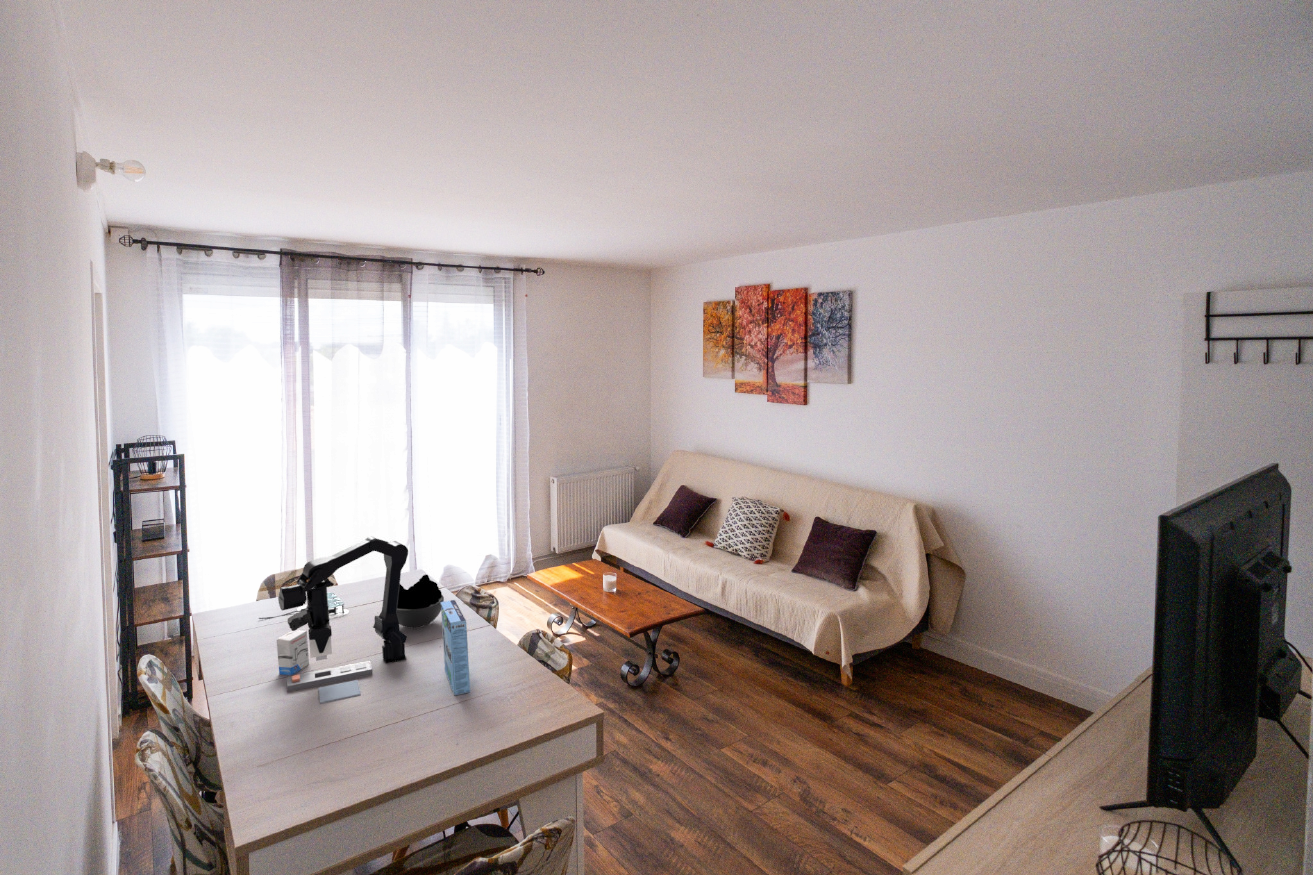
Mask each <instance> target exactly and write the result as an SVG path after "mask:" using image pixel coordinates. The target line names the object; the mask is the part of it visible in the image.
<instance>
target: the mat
mask: <svg viewBox="0 0 1313 875" xmlns="http://www.w3.org/2000/svg"><path fill="white" fill-rule="evenodd" d="M318 695H319V696H318V697H319V704H320V705H321V704H325V703H329V702H335V701H339V700H345V699H348V698H349V699H350V698H353V697H357V696H361V689H360V685H359V680H358V679H355V680H351V681H349V680H348V681H344V682H341V683H335V684H329V685H326V686H325V685H324V686H320V687H318Z"/></svg>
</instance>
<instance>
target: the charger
mask: <svg viewBox="0 0 1313 875" xmlns="http://www.w3.org/2000/svg"><path fill="white" fill-rule="evenodd" d="M308 641H309V654H310V658H311V659H312V658H313V659H314V658H315V660H316V662H317V661H323V660H327V659H328V655H333V650H332V636H330V637H329V639H328V642H327V644H326V647H325V649H324V652H323V653H319V651H318V648H317V645H316V642H315V640H308Z"/></svg>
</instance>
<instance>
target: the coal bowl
mask: <svg viewBox="0 0 1313 875" xmlns="http://www.w3.org/2000/svg"><path fill="white" fill-rule="evenodd" d="M441 602H445V598H444V595H443V594H442V591H441V589H440V588H439V586H438V583H437V582H435V581H433V580H431V579H430V576H429V575H428V574H423V575H422V576H421V577H420V578H419V579H418V581H417V582H416V583H414V584H413V585H411V586H410V587H408V589H406V588H404V586H403V585H402V584H401V583H400V585H399V595H398V604H397V616H398V620H399V626H402V627H405V628H408V629H420V628H424V627H426V626H427V625H429V624H431V623H432V622H434V621H435V619H437V617H438V616H439V614H440V613H441Z"/></svg>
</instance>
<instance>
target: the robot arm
mask: <svg viewBox="0 0 1313 875" xmlns="http://www.w3.org/2000/svg"><path fill="white" fill-rule="evenodd" d="M373 552H377V553H380V554H382V555H383V561H384V564H385V568H386V569H385V570H386V572H385V578H384V579H385V580H384V590H383V599H382V607H381V612H380V614H379V615H374V623H373V626H372V628H374V632H375V633H376V634H377V635H378V636H379V637H380V638H381V639H382V640H383V645H382V646H381V651H382V652H381V653H382V656H381V657H382V659H383V661H384V662H385V664H390V663H396V662H401V661H406V660H407V656H406V646H405V643H406V641H407V639H408V636H407V635H406V634H405V633H404V632H402V631H400V630H401V629H400V624H399V620H398V616H397V604H398V595H399V585H400V584H401V574H402V569H403V568H404V566H405V565H406V563H407V559H408V555H409V549H408V547H407V546H406V545H404V544H403V543H400V542H398V541H396V540H390V541H387V540H383V539H379V538H377V537H374V536H367V537H366V538H365V539H364V540H363V539H362V540H361V541H359V542H356V543H355V544H353V545H350V546H349V547H346V548H345V549H343V550H341V551H340V550H339V552H337V553H334V554H332V555H330V556H329V555H328V556H325V557H319V558H316V559H313V560H310V561H308V562H306V563H305V565H304V566H303V569H302V573H301V574H300V576H299V577H298V579H297V581H296V582H295V583H296V584H293V585H290V586H282V587H280V588H279V592H278V598H277V599H278V606H279V608H280V610H281V611H287V610H291V609H295V608H299V607H301V606H304V605H305V604H306V602H307V604H306V605H307V606H306V608H307V609H306V610H304V611H301V612H296V613H295V614H294V615H291V616H289V617H287V624H288V626H289V628H290V630H291V631H295V630H299V629H300V628H302V627H303V626H305V625H307V627H308V628H309V629H308V631H307V633H308V639H309V640H315V642H316V645H317V648H318V651H319V653H323V652H324V649H325V647H326V644H327V642H328V639H329V637H330V636H331V637H332V636H333V634H332V633H333V632H332V626H331V625H330V624H331V623H330V619H329V611H328V600H329V599H328V598H327V593H328V587H333V586H334V585H335V583H334V582H333V581H331V580H330V579H329V578H330V577H331V576H333V575H334V573H335V572H337V570H339V569H340V568H342V567H344V566H346V565H349V564H350V563H352V562H354V561H357V560H358V559H360V558H362V557H364V556H366V555H368V554H370V553H373ZM309 640H308V641H309Z"/></svg>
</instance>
